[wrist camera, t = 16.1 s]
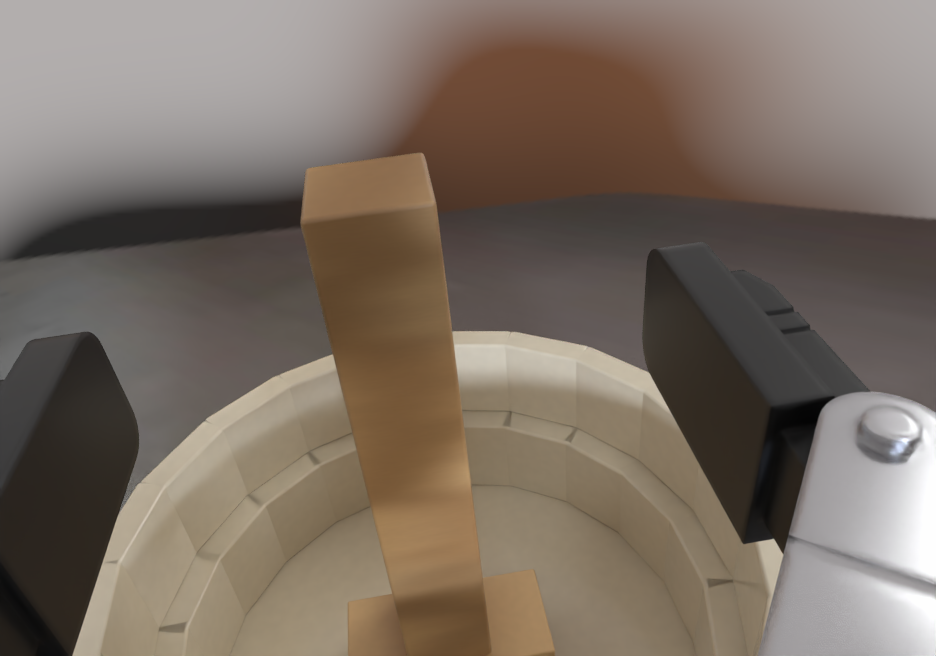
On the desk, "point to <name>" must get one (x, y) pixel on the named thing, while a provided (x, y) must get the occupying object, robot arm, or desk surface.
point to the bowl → (496, 511)
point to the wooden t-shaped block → (408, 417)
